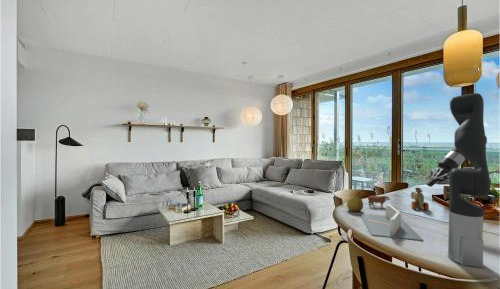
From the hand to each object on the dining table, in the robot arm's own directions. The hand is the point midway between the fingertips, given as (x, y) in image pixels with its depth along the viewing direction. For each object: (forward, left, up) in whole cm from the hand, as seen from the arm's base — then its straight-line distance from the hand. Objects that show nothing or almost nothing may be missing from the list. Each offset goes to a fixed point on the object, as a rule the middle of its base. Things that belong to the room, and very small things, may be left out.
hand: (428, 185), depth 126 cm
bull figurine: (+26, +18, -20) cm, 38 cm away
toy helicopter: (+33, -6, -20) cm, 39 cm away
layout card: (-11, +22, -20) cm, 31 cm away
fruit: (+12, +34, -20) cm, 41 cm away
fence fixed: (-18, +20, -20) cm, 34 cm away
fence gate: (-3, +18, -19) cm, 26 cm away
